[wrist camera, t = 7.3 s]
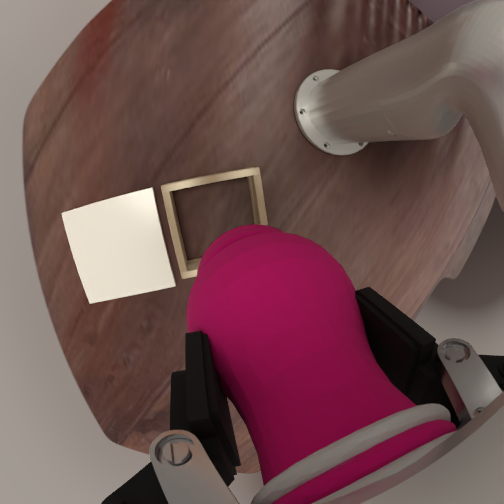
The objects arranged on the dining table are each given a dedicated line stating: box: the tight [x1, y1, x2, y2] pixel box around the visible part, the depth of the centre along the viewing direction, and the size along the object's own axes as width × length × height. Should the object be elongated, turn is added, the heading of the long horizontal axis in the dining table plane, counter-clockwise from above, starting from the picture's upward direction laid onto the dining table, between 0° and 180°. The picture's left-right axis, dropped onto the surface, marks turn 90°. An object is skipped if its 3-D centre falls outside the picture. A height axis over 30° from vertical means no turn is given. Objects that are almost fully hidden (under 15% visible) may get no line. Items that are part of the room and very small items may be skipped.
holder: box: [161, 167, 268, 279], centre depth 34 cm, size 11×11×4 cm
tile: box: [62, 187, 176, 303], centre depth 33 cm, size 13×13×1 cm
